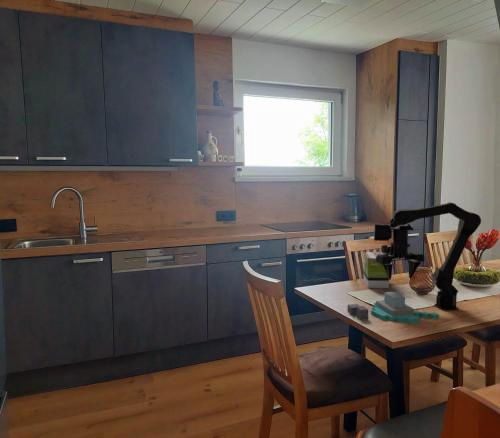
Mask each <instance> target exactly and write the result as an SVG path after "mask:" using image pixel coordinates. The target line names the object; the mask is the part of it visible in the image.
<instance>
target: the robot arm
mask: <svg viewBox="0 0 500 438" xmlns="http://www.w3.org/2000/svg"><path fill="white" fill-rule="evenodd" d="M447 214H450V215H451V216H453V217H455V218H457V219H458V224H457V233H456V235H455V238H454V240H453V242H452V244H451V246H450V249H449V251H448V253H447V255H446V257H445V259H444V261H443V264H442V265H441V266H440V267H438V266H436V267H435V269H434V272H433V273H432V275H431V276H432V282H433V284H434V286H435V287H437V289H438V290H439V291H437V293H436V294H437V295H436V299H435V303H434V306H436V307H438V308H439V309H441V310H443V311H451V310H453V311H455V310H460V307H457V297H458V293H459V290H458V289H457V288H456V286H454V285H453V281H454V278H455V277H454V276H455V269H456V267H457V265H458V263H459V260H460V258H461V257H462V254H463V251H464V250H465V247H466V246H467V243H468V241H469V239H470V237H471V236H472V235H473V234H475V232H476V231H477V230H478V228H479V227H480V225H481V223H482V218H481V216H480V215H479V214H477V213H475V212H471V211H467V210H465V209H464V208H462V207H460V206H458V205H457V204H456V203H454V202H450V201H449V202H447V203H442V204H438V205H432V206H427V207H421V208H418V209H417V208H415V209H414V208H413V209H409V208H407V209H397V210H395V211H394V212H393V214H392V218H391V219H390V220H389V221H388V223H387V224H382V223H381V224H380V223H374V228H373V240H374V242H375V241H378V242H379V241H381V242H386V241H387V242H389V240H391V239H392V242H390V246H388V245H387V244H384V245H381V251H380V252H382V253H384V254H382V255H377V257H376V262H379V264H382V265H383V267H384V269H385V271H386V274H387V276H388V279H389V281H391V280H392V275H393V264H392V262H396V261H407V263H408V278H409V279H412V278H413V276H414V274H415V272H416V270H417V269H418V267H419V266H420V265H422V263H423V262H425V261H426V257H425V255H424V254H423V253H420V252H417V251H414V252H409V248H410V247H411V244H410V243H409V231H414V228H413V227H412V226H411V223H412V222H415V221H416V220H420V219H425V218H430V217H435V216H436V217H437V216H441V215H447Z"/></svg>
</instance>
